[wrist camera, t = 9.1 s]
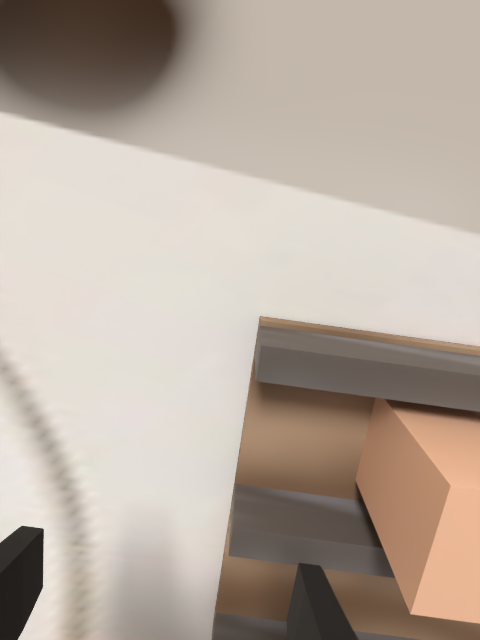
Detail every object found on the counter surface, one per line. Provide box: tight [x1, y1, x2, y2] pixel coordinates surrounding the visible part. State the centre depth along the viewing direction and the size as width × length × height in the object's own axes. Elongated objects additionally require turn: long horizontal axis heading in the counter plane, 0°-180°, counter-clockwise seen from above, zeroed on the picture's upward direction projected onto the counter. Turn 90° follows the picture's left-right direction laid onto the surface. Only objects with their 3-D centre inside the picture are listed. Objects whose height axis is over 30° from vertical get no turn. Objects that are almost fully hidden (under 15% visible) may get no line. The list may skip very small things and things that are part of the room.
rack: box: [212, 316, 480, 640], centre depth 19 cm, size 19×16×4 cm
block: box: [355, 398, 480, 624], centre depth 16 cm, size 5×4×7 cm
